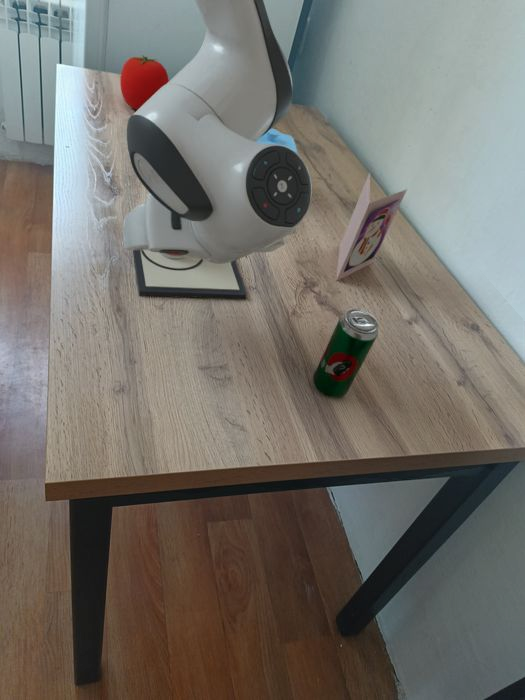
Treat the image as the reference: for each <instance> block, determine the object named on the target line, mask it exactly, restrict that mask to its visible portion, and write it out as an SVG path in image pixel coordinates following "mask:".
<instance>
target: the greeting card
mask: <svg viewBox="0 0 525 700" xmlns="http://www.w3.org/2000/svg"><path fill="white" fill-rule="evenodd" d="M407 191H408V188H406V189H403V190H401V191H397V192H395V193H393V194H389V195H387V196H384V197H382V198H379V199H376V200H374V201H371V172H369V173H368V175H367V178H366V180H365V182H364V185H363V188H362V190H361V192H360V194H359V198H358V200H357V202H356V205H355V207H354V209H353V212H352V215H351V217H350V220H349V222H348V223H347V227H346V229H345V231H344V234H343V236H342V239H341V241H340V244H339V247H338V257H337V270H336V272H337V273H336V281H339V280H341V279H344V278H345V277H347V276H350V275H351V274H354V273H356V272H358V271H359V270H361V269H363V268H366V267H367V266H369V265H372V264H373V263H374V261H375V259H376V257H377V255H378V253H379V251H380V248H381V246H382V244H383V242H384V240H385V237H386V235H387V234H388V232H389V229H390V228H391V225H392V223H393V221H394V219H395V216H396V214H397V213H398V210H399V208H400V206H401V204H402V202H403V200H404V197H405V195H406V193H407Z"/></svg>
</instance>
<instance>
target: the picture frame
mask: <svg viewBox="0 0 525 700" xmlns="http://www.w3.org/2000/svg"><path fill="white" fill-rule="evenodd" d="M132 255H133V261H134V269H135V276H136V283H137V290H138V295H139V296H142V297H143V296H146V297H175V298H176V297H177V298H178V297H179V298H207V299H212V298H213V299H234V300H235V299H237V300H238V299H241V300H246V299H247V295H248V294H247V292H246V289H245V286H244V283H243V280H242V277H241V274H240V271H239V268H238V266H237V263H236V260H235V261H233V262H230V263H225V264H218V263H212V262H209V261H207V260H204V259H198V258H194V257H190V256H186V257H184V258H180V259H173V258H168V257H165V256H163V255H162V254H160V253H159V252H151V251H148V250H135V251H132Z"/></svg>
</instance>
